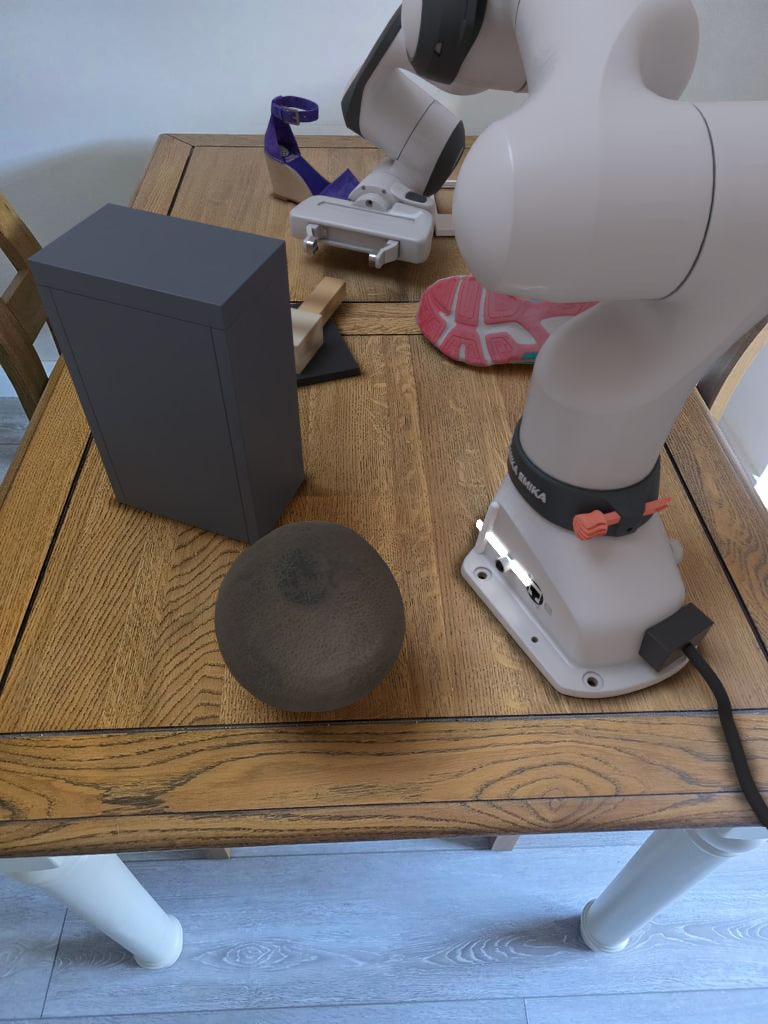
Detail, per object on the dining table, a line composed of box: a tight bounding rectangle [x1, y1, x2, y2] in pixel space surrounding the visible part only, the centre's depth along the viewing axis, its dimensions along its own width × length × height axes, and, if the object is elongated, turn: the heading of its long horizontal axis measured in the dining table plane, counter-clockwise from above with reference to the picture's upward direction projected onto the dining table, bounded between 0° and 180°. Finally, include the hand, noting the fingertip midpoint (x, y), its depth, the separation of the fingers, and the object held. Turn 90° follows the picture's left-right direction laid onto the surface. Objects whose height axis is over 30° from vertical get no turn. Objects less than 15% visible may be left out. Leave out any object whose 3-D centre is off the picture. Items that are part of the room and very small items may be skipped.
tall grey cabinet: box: [26, 202, 306, 546], centre depth 62 cm, size 10×16×26 cm, turn 70°
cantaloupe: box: [213, 520, 407, 713], centre depth 53 cm, size 14×14×15 cm
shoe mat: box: [290, 301, 360, 387], centre depth 89 cm, size 16×10×1 cm, turn 20°
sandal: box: [263, 94, 361, 204], centre depth 110 cm, size 8×20×15 cm, turn 60°
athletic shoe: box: [414, 274, 600, 368], centre depth 88 cm, size 27×9×12 cm
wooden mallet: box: [291, 275, 347, 374], centre depth 89 cm, size 18×6×4 cm, turn 160°
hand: (340, 255), depth 94 cm, fingers open, 8 cm apart
